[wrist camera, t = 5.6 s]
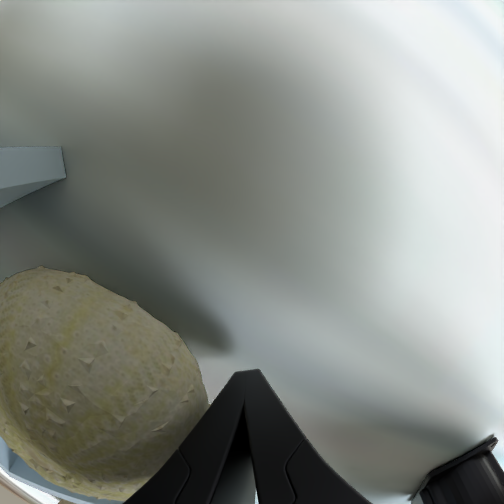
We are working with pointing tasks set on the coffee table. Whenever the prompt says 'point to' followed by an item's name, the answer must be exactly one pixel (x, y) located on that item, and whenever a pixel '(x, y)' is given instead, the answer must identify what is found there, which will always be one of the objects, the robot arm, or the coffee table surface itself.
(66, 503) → the ceramic mug
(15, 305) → the sea urchin shell
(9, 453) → the corral
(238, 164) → the coffee table surface
